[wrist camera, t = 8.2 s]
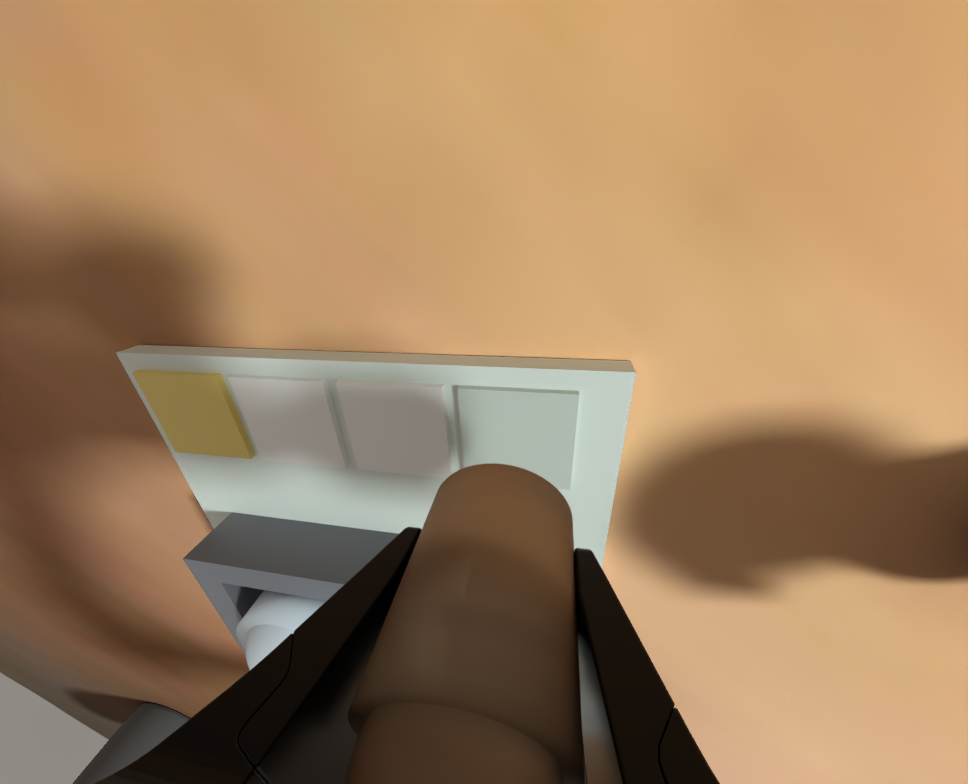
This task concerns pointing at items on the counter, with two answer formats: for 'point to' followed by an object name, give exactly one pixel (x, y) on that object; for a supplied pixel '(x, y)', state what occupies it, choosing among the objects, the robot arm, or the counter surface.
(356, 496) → the board
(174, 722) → the mug
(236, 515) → the base
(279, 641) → the dome
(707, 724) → the counter surface
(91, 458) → the counter surface
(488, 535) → the pawn
